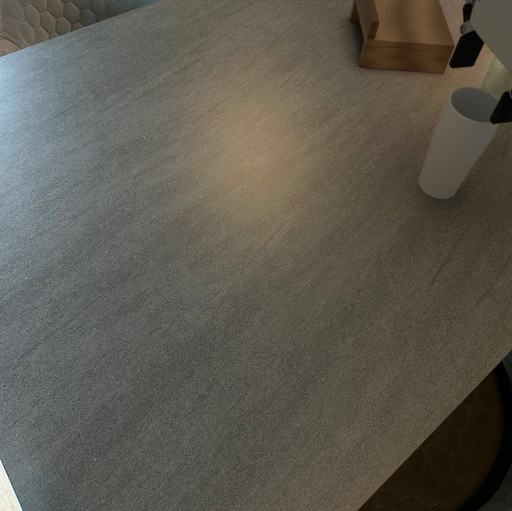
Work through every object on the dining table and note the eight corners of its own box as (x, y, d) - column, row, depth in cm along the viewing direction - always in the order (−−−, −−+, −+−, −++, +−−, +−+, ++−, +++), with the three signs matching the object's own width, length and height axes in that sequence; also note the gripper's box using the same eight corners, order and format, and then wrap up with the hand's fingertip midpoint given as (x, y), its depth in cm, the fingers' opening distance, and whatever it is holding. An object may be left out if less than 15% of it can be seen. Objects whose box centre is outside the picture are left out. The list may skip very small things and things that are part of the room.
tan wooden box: (427, 24, 109) (443, -21, 102) (443, 73, 101) (462, 28, 94) (348, 17, 108) (360, -28, 101) (358, 67, 100) (372, 21, 93)
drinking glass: (437, 218, 82) (483, 132, 70) (399, 186, 85) (436, 99, 73) (468, 195, 85) (517, 109, 73) (430, 166, 88) (471, 78, 76)
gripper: (646, -7, 54) (549, 141, 68) (538, -102, 63) (472, 44, 77) (574, -2, 52) (489, 149, 66) (475, -101, 62) (418, 49, 75)
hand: (480, 92), depth 71 cm, fingers open, 9 cm apart
